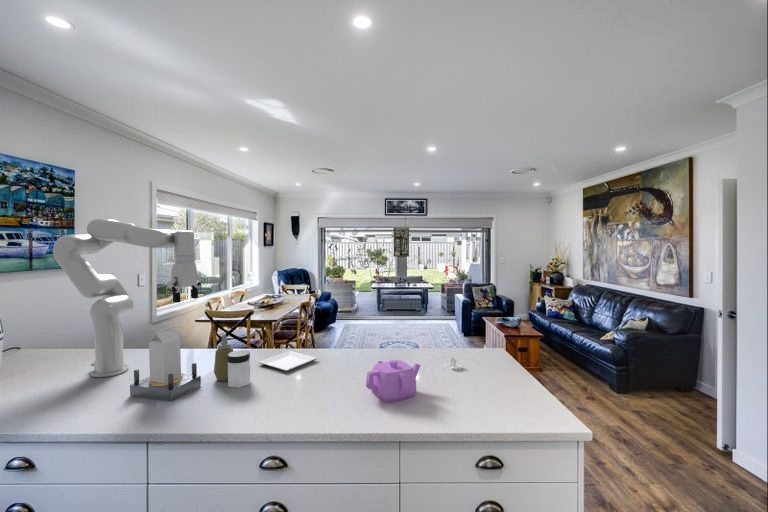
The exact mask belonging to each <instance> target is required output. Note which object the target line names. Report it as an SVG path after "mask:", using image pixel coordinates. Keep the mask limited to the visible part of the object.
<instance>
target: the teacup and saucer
mask: <svg viewBox="0 0 768 512" xmlns="http://www.w3.org/2000/svg"><path fill="white" fill-rule="evenodd" d="M448 365H449V367H450V368H449V367H447V366H448ZM443 368H444V369H447V370H450V371H459V370H461V369H462V368H463V366H462V365H461V364H457V358H456V357H449V359H448V363H445V364H444V365H443Z"/></svg>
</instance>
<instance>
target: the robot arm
mask: <svg viewBox="0 0 768 512" xmlns="http://www.w3.org/2000/svg"><path fill="white" fill-rule="evenodd" d="M86 232H87V234H86V233H85V234H84V233H83V234H81V233H80V234H79V233H78V234H76V233H75V234H65V235H63V236H61V237H59V238H58V239H56V241H55V242H54V244H53V246H52V247H53V248H52V255H53V258H54V261H55V262H56V263H57V265H58V266H59V267H60V268H61V269H62V270H63V272H64V273H65V274H66V275H67V276H68V279H69V280H70V281H71V282H72V284H73V285H74V287H75V288H76V289H77V291H78V292H79V294H80V295H81V296H83V297H84V298H85V299H89V300H90V299H91V300H92V299H98V298H99V299H98V300H96V301H95V302H93V303H92V305H91V306H90V309H89V311H90V313H89V315H90V318H91V321H92V327H93V339H94V343H93V344H94V361H93V362H91V363H90V367H93V370H92V371H91V372H90V376H91V377H93V378H106V377H113V376H116V375H117V376H118V375H120V374H121V375H122V374H124V373H125V372H127V371H128V370H129V365H127V364H125V362H124V361H125V360H124V357H125V356H124V335H123V327H122V323H121V321H120V319H119V318H121V317H123V316H126V315H128V314H130V313H131V312H132V310H133V309H134V301H133V298H132V297H131V295H130V294H129V293H128V291H127V290H126V288H125V287H124V286H123V283H122V282H120V280H119V279H118V278H117V277H116V276H114V275H112V274H109V273H101V274H100V273H98V272H97V271H96V270H95V269H94V268H93V265H92V264H90V263H89V261H87V260H86V259H84V258H83V257H82V256H83V255H92V254H97V253H99V252H101V251H103V250H104V249H106V248H107V247H108V246H111V244H113V243H115V242H116V243H121V244H122V243H123V244H127V245H128V244H129V245H133V246H138V247H143V248H151V249H163V248H165V249H167V248H168V249H169V248H173V252H174V256H173V258H174V263H173V264H172V266H171V267H172V268H171V277H170V278H171V279H170V280H169V281H168V282H167V287H168V289H169V290H170V292H171V293H172V302H173V303H181V301H182V300H181V292H180V291H181V289H182V288H188V287H189V288H190V299H198V298H199V289H200V286H201V282H202V277H200V276H198V269H197V264H196V256H195V254H196V250H195V233H194V231H193V230H186V229H185V230H184V229H183V230H180V229H179V230H172V229H156V228H155V229H154V228H149V227H148V228H147V227H141V226H136V225H135V223H130V222H125V221H118V220H116V219H112V218H111V219H109V218H108V219H107V218H96V219H93V220H91V221H89V222H88V223H87V225H86ZM81 255H82V256H81Z"/></svg>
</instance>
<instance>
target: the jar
mask: <svg viewBox="0 0 768 512" xmlns="http://www.w3.org/2000/svg"><path fill="white" fill-rule="evenodd" d="M250 353H251V352H250V351H249V350H243V349H240V350H233V352H230V353H228V355H227V360H228V380H227V382H228V383H227V387H228V388H236V387H237V388H238V389H239V388H243V387H245V386H249V385H250V384H251V363H250V362H251V361H250V358H251V354H250Z"/></svg>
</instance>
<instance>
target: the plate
mask: <svg viewBox="0 0 768 512" xmlns="http://www.w3.org/2000/svg"><path fill="white" fill-rule="evenodd" d="M317 359H318V357H316V356H312V355H308V354H304V353H301V352H296V351H294V350H288V351H284V352H282V353H279V354H276V355H273V356H271V357H268V358H267V357H266V358H264V359H261V360H259V361H258V364H262V365H265V366H268V367H271V368H275V369H276V370H282V371H284V372H289V371H291V370H294V369H296V368H299V367H301V366H303V365H306V364H308V363H311V362H314V361H316V360H317Z"/></svg>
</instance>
